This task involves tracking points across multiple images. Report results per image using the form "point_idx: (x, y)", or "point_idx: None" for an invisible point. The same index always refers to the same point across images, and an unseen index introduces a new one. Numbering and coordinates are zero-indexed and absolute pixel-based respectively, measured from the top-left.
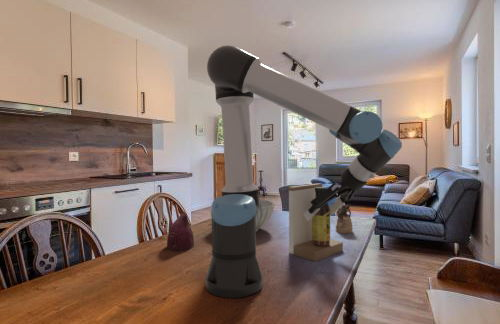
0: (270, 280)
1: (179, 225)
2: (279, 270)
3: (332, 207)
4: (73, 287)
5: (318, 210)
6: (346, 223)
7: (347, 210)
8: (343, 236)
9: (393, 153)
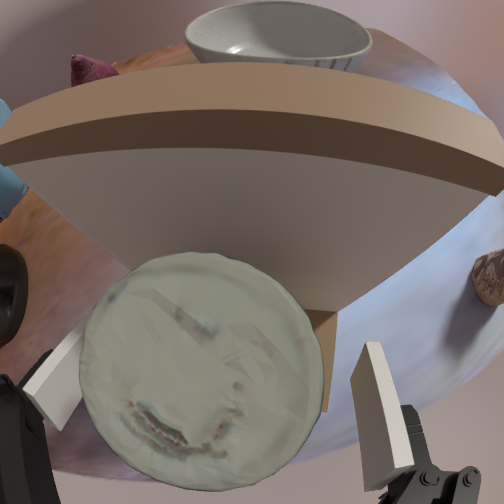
0: (28, 339)
1: (71, 78)
2: (63, 330)
3: (367, 392)
4: None
5: (65, 418)
6: (502, 290)
7: None
8: (455, 313)
9: None
